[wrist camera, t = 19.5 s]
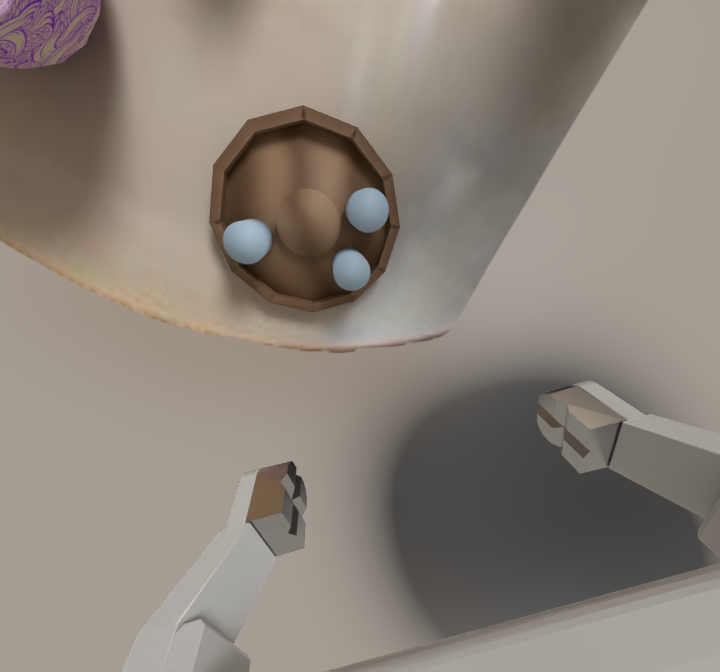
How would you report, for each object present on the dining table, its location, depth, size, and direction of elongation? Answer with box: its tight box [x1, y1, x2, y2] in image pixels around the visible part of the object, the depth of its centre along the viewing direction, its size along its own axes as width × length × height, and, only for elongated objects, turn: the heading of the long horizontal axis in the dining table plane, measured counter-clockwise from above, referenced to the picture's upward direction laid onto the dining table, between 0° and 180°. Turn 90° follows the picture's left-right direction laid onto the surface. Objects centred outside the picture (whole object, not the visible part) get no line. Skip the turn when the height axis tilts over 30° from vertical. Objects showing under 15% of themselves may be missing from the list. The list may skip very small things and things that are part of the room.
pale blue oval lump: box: [223, 219, 274, 264], centre depth 29 cm, size 4×4×5 cm
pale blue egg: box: [332, 247, 370, 291], centre depth 31 cm, size 4×4×5 cm
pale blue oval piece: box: [345, 188, 389, 233], centre depth 29 cm, size 4×4×5 cm
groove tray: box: [209, 105, 400, 312], centre depth 31 cm, size 20×20×2 cm
